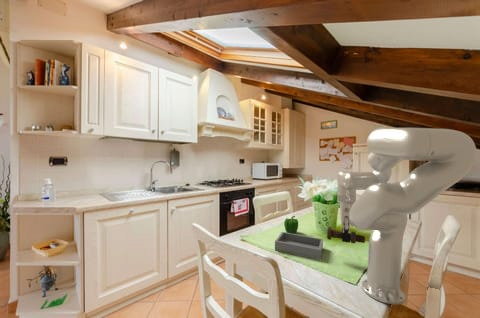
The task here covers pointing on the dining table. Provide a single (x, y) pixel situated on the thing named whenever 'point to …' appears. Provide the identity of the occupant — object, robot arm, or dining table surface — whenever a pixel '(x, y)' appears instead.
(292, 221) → the bell pepper
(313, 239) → the tray
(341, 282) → the dining table surface
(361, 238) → the bolt
